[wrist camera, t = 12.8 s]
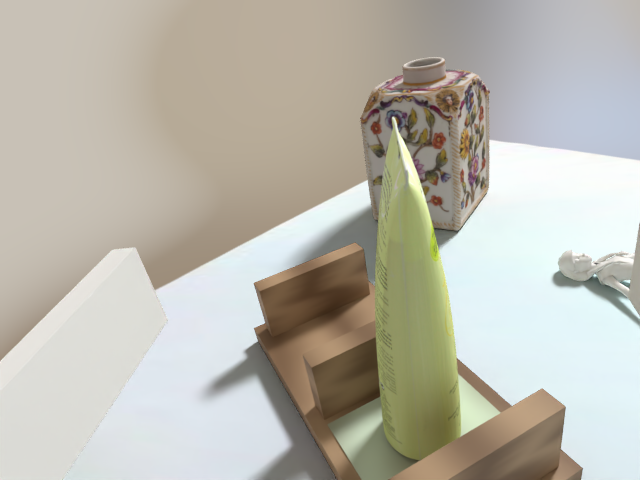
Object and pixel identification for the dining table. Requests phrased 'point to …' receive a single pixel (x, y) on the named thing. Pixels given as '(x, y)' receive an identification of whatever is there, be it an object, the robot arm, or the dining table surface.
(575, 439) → the dining table surface
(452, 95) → the decorative jar
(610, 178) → the dining table surface
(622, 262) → the woman figurine
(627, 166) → the dining table surface
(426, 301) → the tube
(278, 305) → the wooden letter rack
